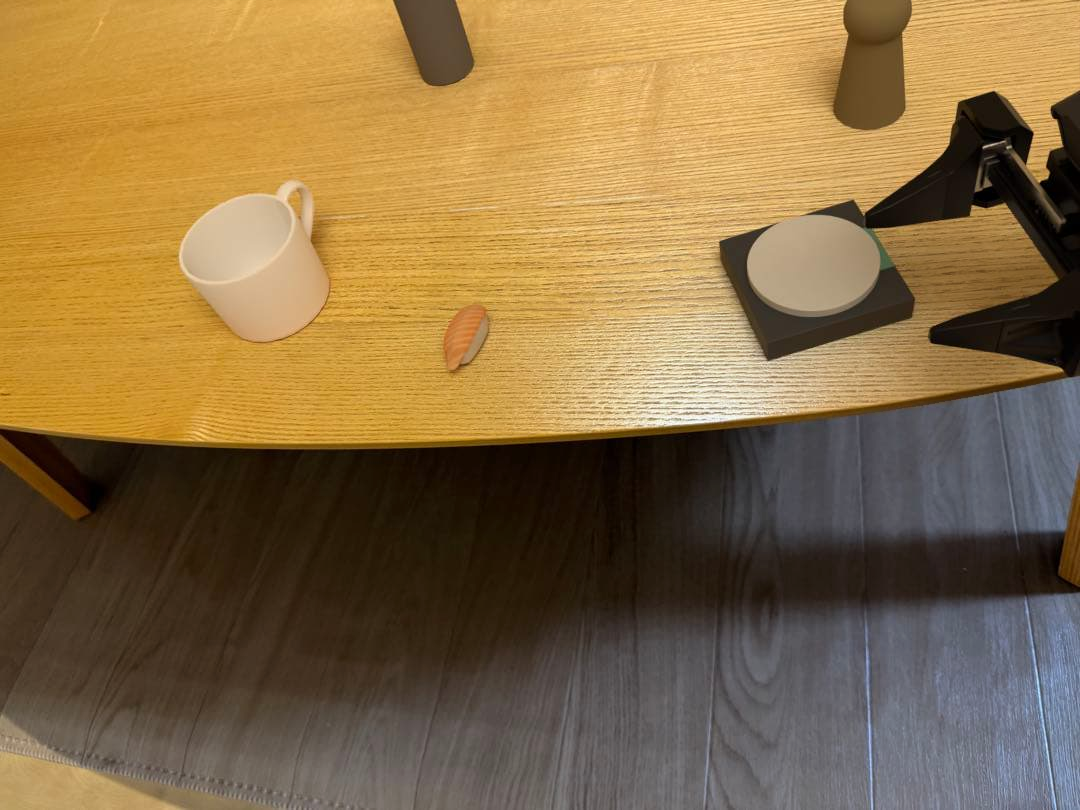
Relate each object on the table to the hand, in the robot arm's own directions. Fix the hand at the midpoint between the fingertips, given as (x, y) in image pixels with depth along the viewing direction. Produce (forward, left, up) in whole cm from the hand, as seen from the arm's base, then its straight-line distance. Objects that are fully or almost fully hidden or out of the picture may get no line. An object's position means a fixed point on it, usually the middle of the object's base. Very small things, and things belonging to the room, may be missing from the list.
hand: (895, 275), depth 53 cm
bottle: (+23, -55, -15) cm, 62 cm away
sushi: (+27, -17, -15) cm, 35 cm away
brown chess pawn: (-12, -30, -15) cm, 36 cm away
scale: (0, -13, -15) cm, 19 cm away
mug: (+42, -30, -15) cm, 54 cm away
